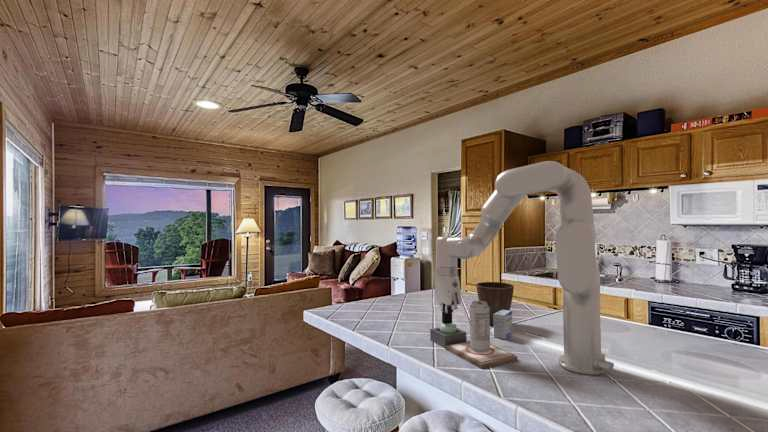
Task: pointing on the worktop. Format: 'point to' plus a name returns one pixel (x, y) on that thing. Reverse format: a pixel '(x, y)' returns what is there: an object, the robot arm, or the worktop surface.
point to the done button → (448, 328)
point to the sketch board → (481, 355)
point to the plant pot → (495, 296)
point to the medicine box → (502, 324)
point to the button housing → (447, 337)
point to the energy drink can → (479, 326)
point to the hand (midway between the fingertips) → (447, 323)
